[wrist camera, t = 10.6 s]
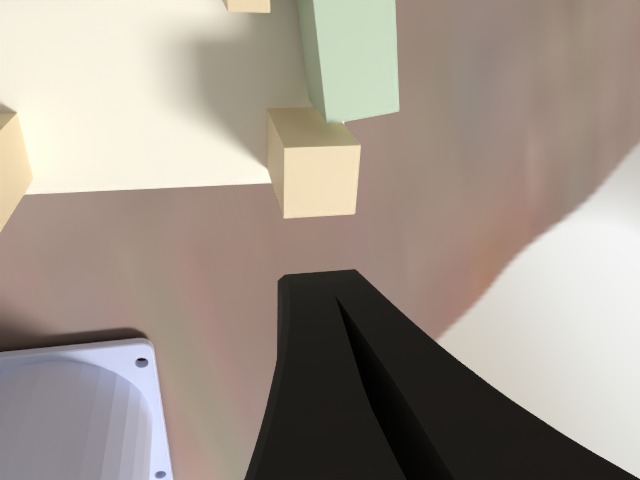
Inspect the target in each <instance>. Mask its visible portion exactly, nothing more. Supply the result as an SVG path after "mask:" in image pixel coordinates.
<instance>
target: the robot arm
mask: <svg viewBox="0 0 640 480" xmlns="http://www.w3.org/2000/svg"><path fill="white" fill-rule="evenodd" d="M139 358H145V359H147V360H145V361H139V360H137V359H139ZM0 480H173V473H172V466H171V460H170V453H169V446H168V440H167V433H166V426H165V419H164V413H163V406H162V399H161V393H160V386H159V379H158V373H157V366H156V359H155V352H154V346H153V344H152V342H151V341H149V340H148V339H145V338H134V339H124V340H115V341H105V342H95V343H85V344H76V345H66V346H56V347H46V348H37V349H27V350H17V351H7V352H0ZM244 480H640V479H639V478H637V477H635V476H634V475H632V474H630V473H628V472H626V471H625V470H623V469H621V468H620V467H618V466H616V465H614V464H613V463H611V462H609V461H607V460H606V459H604V458H602V457H600V456H599V455H597V454H595V453H593V452H592V451H590V450H588V449H587V448H585V447H583V446H582V445H580V444H578V443H577V442H575V441H573V440H572V439H570V438H568V437H567V436H565V435H564V434H562V433H560V432H559V431H557V430H555V429H554V428H553V427H551V426H550V425H548V424H547V423H545V422H544V421H542V420H540V419H539V418H538V417H536V416H534V415H533V414H531V413H530V412H528V411H527V410H526V409H524V408H522V407H521V406H519V405H518V404H516V403H515V402H514V401H512V400H511V399H509V398H508V397H506V396H505V395H504V394H502V393H501V392H499V391H498V390H497V389H495V388H494V387H492V386H491V385H490V384H488V383H487V382H486V381H485V380H483V379H482V378H481V377H479V376H478V375H476V374H475V373H474V372H473V371H471V370H470V369H469V368H468V367H466V366H465V365H464V364H462V363H461V362H460V361H458V360H457V359H456V358H455V357H453V356H452V355H451V354H450V353H448V352H447V351H446V350H445V349H444V348H442V347H441V346H440V345H439V344H438V343H436V342H435V341H434V340H433V339H432V338H430V337H429V336H428V335H427V334H426V333H425V332H423V331H422V330H421V329H420V328H419V327H418V326H417V325H415V324H414V323H413V322H412V321H411V320H410V319H409V318H407V317H406V316H405V315H404V314H403V313H402V312H401V311H400V310H399V309H398V308H396V307H395V306H394V305H393V304H392V303H391V302H390V301H389V300H388V299H387V298H386V297H385V296H383V295H382V294H381V293H380V292H379V291H378V290H377V289H376V288H375V287H374V286H373V285H372V284H371V283H370V282H368V281H367V280H366V279H365V278H364V277H363V276H362V275H361V274H360V273H359V272H358V271H356V270H355V269H352V270H339V271H326V272H314V273H301V274H288V275H284V276H283V277H282V278H281V279H279V280H278V320H277V361H276V367H275V372H274V376H273V380H272V385H271V389H270V393H269V398H268V402H267V406H266V410H265V414H264V418H263V421H262V425H261V429H260V432H259V436H258V439H257V442H256V446H255V449H254V452H253V455H252V458H251V461H250V464H249V468H248V471H247V474H246V477H245V479H244Z"/></svg>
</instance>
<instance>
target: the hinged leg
mask: <svg viewBox="0 0 640 480" xmlns="http://www.w3.org/2000/svg"><path fill="white" fill-rule="evenodd" d="M296 4H297V12H298V20H299V28H300V36H301V43H302V51H303V59H304V67H305V75H306V82H307V90H308V98H309V100H310V102H311V103H312V105H313V106H314V107H315V109H316V110H317V112H318V113H319V114H320V116H321V117H322V118H323V120H324V121H325V123H326V124H327V125H329V124H334V123H340V122H345V121H350V120H356V119H361V118H366V117H372V116H377V115H382V114H388V113H393V112H398V111H399V93H398V66H397V38H396V11H395V0H296Z"/></svg>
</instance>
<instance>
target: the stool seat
mask: <svg viewBox="0 0 640 480" xmlns="http://www.w3.org/2000/svg"><path fill="white" fill-rule="evenodd" d="M360 149H361V145H360V144H359V142H358V141H357V140H356V139H355V137H354V136H353V135H352V134H351V133H350V131H349V130H348V129H347V128H346V126H345V125H344V122H340V123H334V124H329V125H327V124H326V123H325V121H324V120H323V118H322V117H321V116H320V114H319V113H318V112H317V110H316V109H315V107H314V106H313V105H312V103H311V102H310V100H309V98H308V90H307V82H306V75H305V67H304V59H303V51H302V43H301V36H300V28H299V20H298V12H297V4H296V0H0V232H1V230H2V229H3V227H4V225H5V224H6V222H7V221H8V219H9V217H10V216H11V214H12V213H13V211H14V209H15V208H16V206H17V205H18V203H19V201H20V200H21V198H22V197H23V195H24V194H44V193H66V192H87V191H108V190H130V189H151V188H172V187H194V186H215V185H237V184H258V183H272V185H273V188H274V191H275V194H276V197H277V200H278V203H279V206H280V209H281V212H282V215H283V218H299V217H315V216H331V215H348V214H355V207H356V195H357V184H358V172H359V161H360Z"/></svg>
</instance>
